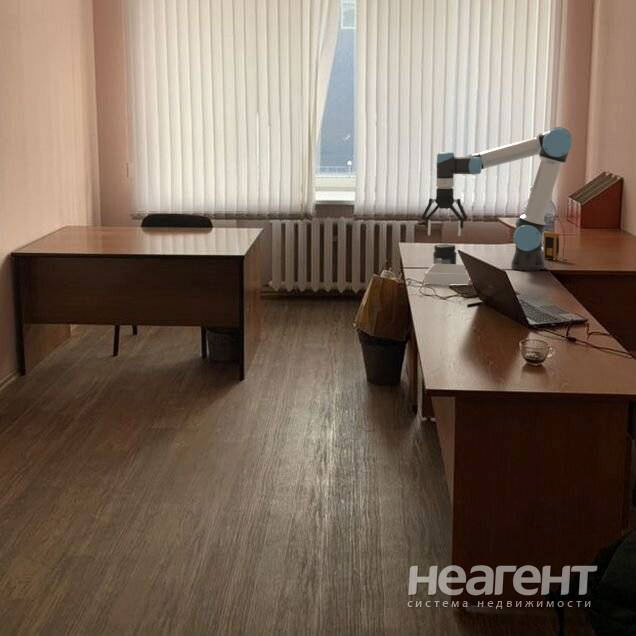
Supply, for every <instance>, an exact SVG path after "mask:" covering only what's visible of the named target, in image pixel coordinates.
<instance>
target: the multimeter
mask: <svg viewBox="0 0 636 636" xmlns="http://www.w3.org/2000/svg"><path fill="white" fill-rule="evenodd" d="M548 219H549V221H550V223H551V225H550V226H549V231H545V230H544V231H543V240H542V247H543V249H542V254H543V258H544V260H548V259H555V261H557V260H556V259H558V260H559V259H560V258H559V257H560V256H559V255H560V254H559V253H560V252H559V251H560V233H559V232H555V231H554V221H555V220H558V221H559V222H560V224H561V227H562V231H563V233H565V231H564V230H565V229H564V227H563V223H562V222H561V221H560V219H559V218H555V219H553V220H551V219H550V218H549V217H546V218H545V220H544V221H545V222H546V221H547V220H548ZM563 238H564V239H563V245H565V240H566V238H565V235H563ZM564 251H565V248H563V249H562V255H564V254H565V253H564ZM562 260H563V261H564V260H565V259H564V258H562Z"/></svg>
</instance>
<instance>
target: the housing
mask: <svg viewBox="0 0 636 636" xmlns="http://www.w3.org/2000/svg"><path fill="white" fill-rule="evenodd" d="M423 276H424V277H423V278H424V283H428V284H444V285H443V286H450V285H449V284H468V283H469V284H470V282H469V276H468V273H467V272H466V270H465V267H464V265H463V264H461V263H456V264H431V266H429V268H427V270H426V271H425V272H424V275H423ZM469 284H468V285H469Z"/></svg>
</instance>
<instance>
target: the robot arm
mask: <svg viewBox="0 0 636 636" xmlns="http://www.w3.org/2000/svg"><path fill="white" fill-rule="evenodd" d="M572 144H573V139H572V134H571V133H570V131H569V130H567V129H566V128H565V127H562V126H561V127H560V126H559V127H558V126H556V127H553V128H551V129H549V130H547V131H544V132H541V133H539V134H538V133H537V135H536V136H535V137H532V138H528V139H525V140H521V141H518V142H514V143H509V144H507V145H502V146H499V147H495V148H492V149H488V150H484V151H481V152H478V153H473V154H468V155H466V156H455V153H454V152H450V151H449V152H448V151H447V152H446V151H444V152H443V151H441V152H438V153H437V155H436V185H435V186H436V187H437V188H436V189H435V190H436V192H435V193H436V194H435V195H436V196H435V198H432V197H431V198H429V200H428V204H427V207H426V208H425V210H424V211H423V214H422V216H421V219H422V220H424V221H425V228H427V235H428V236H431V234H432V233H431V227H432V226H431V225H432V223H431V221H432V220H430V219H431V217H433V215H434V214H435V213H436V212H437V211H438V209H445V210H448V209H450V210H451V211H452V213H454V215H455V216H456V217H457V218H458V220H459V221H458V225H457V227H458V231H457V236H458V237H460V236H461V235H462V229H464V221H466V220H468V218H469V217H468V215H467V214H466V210H465V209H464V207H463V205H462V202H461V198H455V199H454V188H453V187H454V185H455V184H454V183H455V181H454V179H455V178H454V177H455V175H472V176H473V175H480V174H481V173H482V170H484V169H487V168H488V169H489V168H492V167H496V166H500V165H503V164H508V163H512V162H515V161H518V160H522V159H526V158H530V157H534V156H537V155H538V157H539V159H540V163H539V166H538V169H537V173H536V176H535V177H534V182H533V184H532V188H531V191H530V194H529V198H528V201H527V204H526V207H525V211H524V213H523V214H521V215H520V216H519V217H518V218H516V220H515V231H514V232H513V235H512V239H513V243H514V245H515V251H514V254H513V258H512V260H511V264H510V265H511V268H510V269H512V268H513V269H512V270H515V269H517V270H516V271H522V270H525V272H527V271H528V272H532V271H533V272H534V271H535V270H536V271H541V270H540V269H543V268H545V269H546V262H545V261H546V260H545V259H544V258H543V249H542V247H543V245H542V244H543V235H544V233H543V231H544V232H545V228H546V227H545V226H546V221H545V220H544V218H545V215H546V213H547V210H548V206H549V203H550V200H551V197H552V194H553V190H554V187H555V185H556V181H557V178H558V176H559V175H558V174H559V172H560V168H561V167H562V166H563V165H564V164H565V163H566V162H567V160H568V159H567V158H568V156H569V154H570V150H571V148H572ZM434 203H435V204H436V206H435V207H434V208H433V209H432V211H431V212H430V213H429V214H428V212H429V211H430V209H431V207H432V204H434ZM454 203H455V204H457V207H458V209H459V210H460V211H458V210H457V209H456V208H455V206H454ZM459 212H460V213H461V214H460V213H459ZM543 270H544V269H543Z"/></svg>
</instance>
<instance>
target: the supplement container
mask: <svg viewBox="0 0 636 636" xmlns="http://www.w3.org/2000/svg"><path fill="white" fill-rule="evenodd" d="M433 250H434V251H433V254H432V256H433V258H432V259H433V260H432V261H433V264H457V254H458V253H457V251H456V245H455V244H453V243H443V244H442V243H441V244H435V245H434V246H433ZM433 264H432V265H433Z"/></svg>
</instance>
